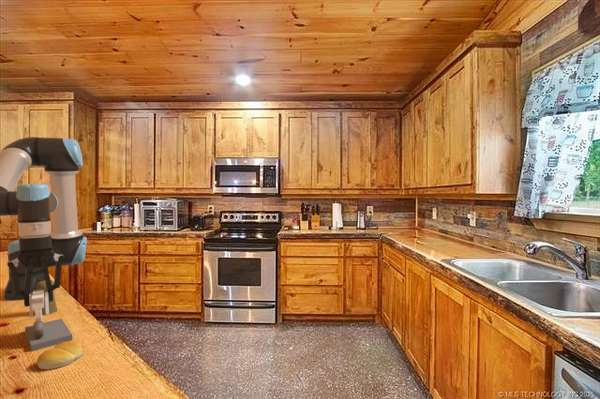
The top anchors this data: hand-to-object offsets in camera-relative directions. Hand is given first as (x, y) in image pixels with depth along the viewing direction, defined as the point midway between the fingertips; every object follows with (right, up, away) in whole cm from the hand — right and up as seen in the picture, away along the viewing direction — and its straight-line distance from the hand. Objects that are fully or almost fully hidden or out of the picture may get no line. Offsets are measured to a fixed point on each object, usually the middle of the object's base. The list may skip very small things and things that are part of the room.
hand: (39, 314), depth 97 cm
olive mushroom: (-11, -5, +17) cm, 21 cm away
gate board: (+4, -5, -2) cm, 7 cm away
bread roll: (+18, -6, -16) cm, 25 cm away
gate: (+2, -4, -3) cm, 5 cm away
